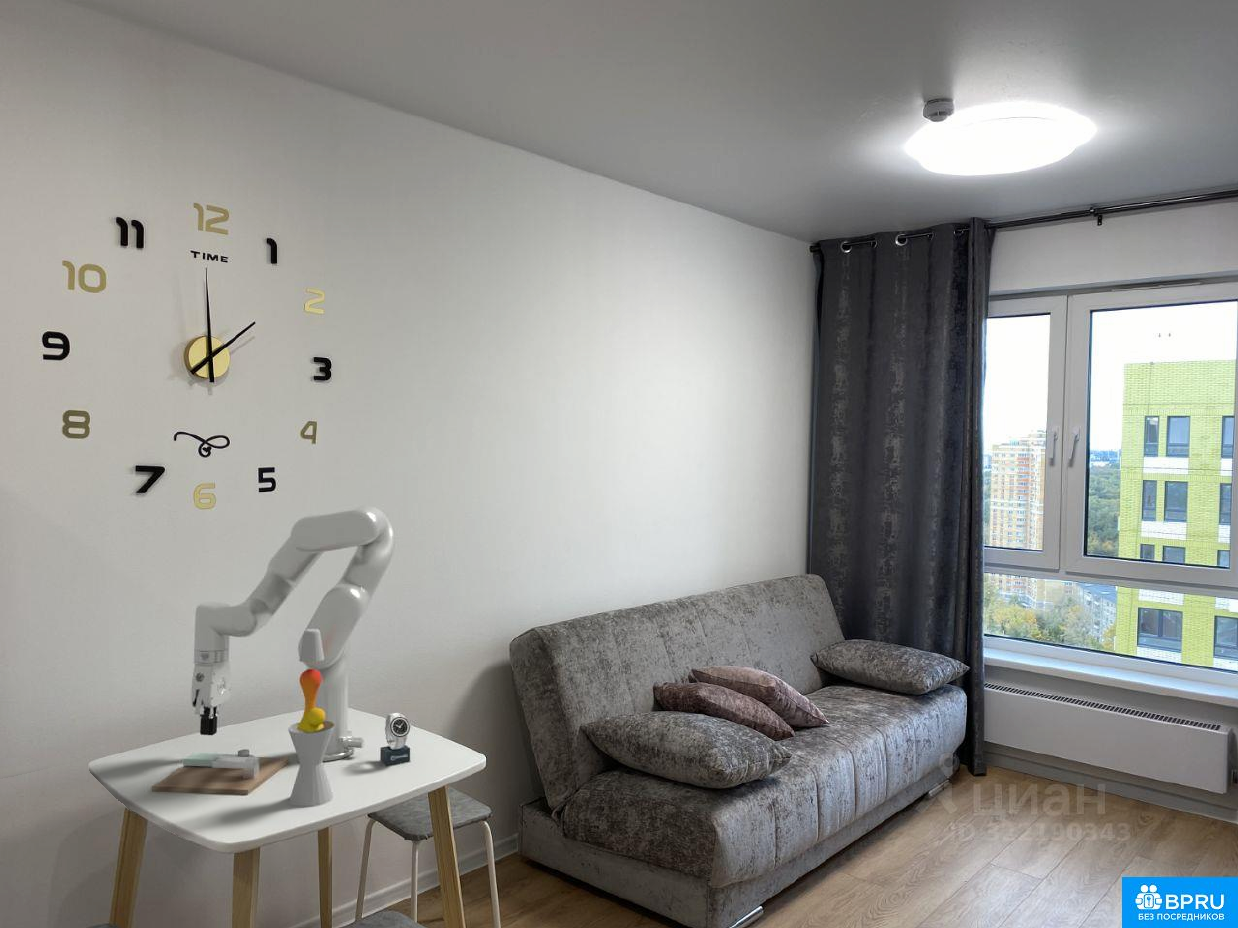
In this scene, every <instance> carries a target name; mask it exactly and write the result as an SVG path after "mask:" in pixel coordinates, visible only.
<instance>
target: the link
mask: <svg viewBox="0 0 1238 928" xmlns="http://www.w3.org/2000/svg"><path fill="white" fill-rule="evenodd" d="M219 756H228V757H238V753H235V754H233V753H231V754H230V753H203V752H192V753H190V754H188V755H187V756H186V757H183V759H182V767H183V766H212V761H213V760H214V759H216V758H217V757H219ZM249 757H255V755H253V754H249Z"/></svg>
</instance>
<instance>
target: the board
mask: <svg viewBox="0 0 1238 928" xmlns="http://www.w3.org/2000/svg"><path fill="white" fill-rule="evenodd" d="M237 754H238V757H249V755H250V749H247V748H246V749H245V748H244V749H239V750H237ZM257 757H258V758H259V775H258V776H257V777H256V778H254V779H247V778H243V769H236V768H212V766H183V765H182V767H181V768H178V769H177V770H176V771H174V772H172V773H171V774H170V775H167V776H166V777H165V778H163V779H161V780H160V781H157V782H156V783H155V784H153V785H152V786H151V791H152V792H170V793H171V792H172V793H195V794H196V793H199V794H200V793H202V794H221V795H223V794H226V795H228V794H229V795H249V794H251V793H252V792H253V791H254V790H256V789H258V787H260V786H261V785H263V783H265V782H266V781H268V780H269V779H270V778H272V777H273V776H274V775H276V773H278V772H279V771H280V770H282V769H283V768H284V767H286V766H287V765H289V764H290V757H271V756H270V757H269V756H267V757H266V756H257Z"/></svg>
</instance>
